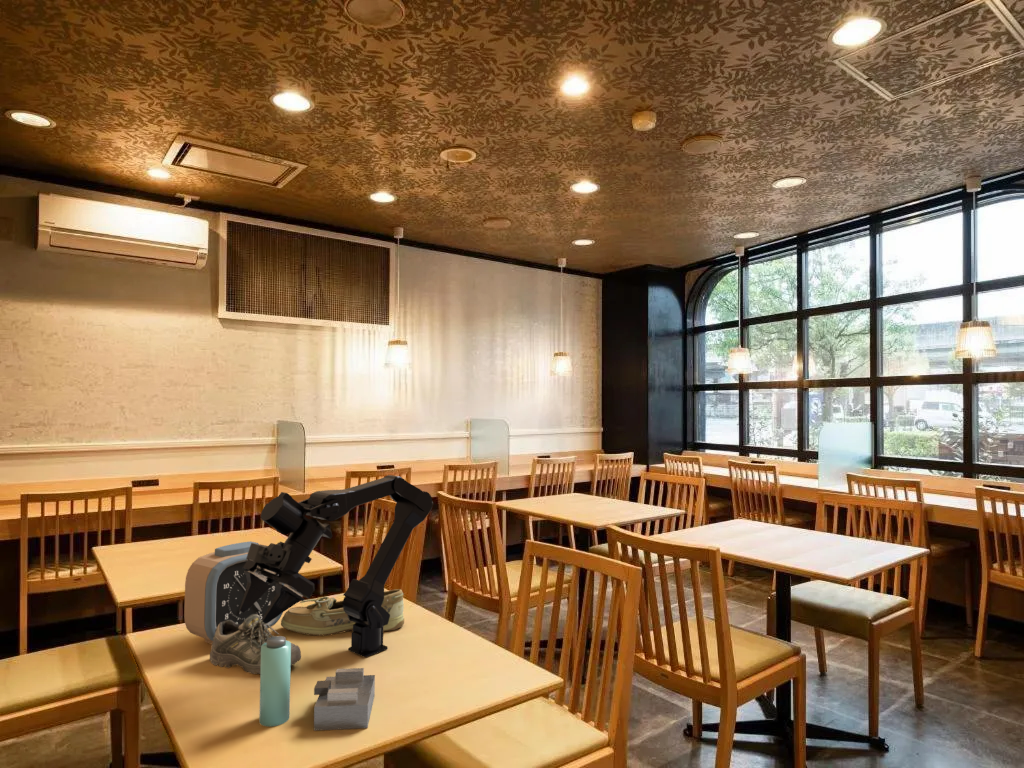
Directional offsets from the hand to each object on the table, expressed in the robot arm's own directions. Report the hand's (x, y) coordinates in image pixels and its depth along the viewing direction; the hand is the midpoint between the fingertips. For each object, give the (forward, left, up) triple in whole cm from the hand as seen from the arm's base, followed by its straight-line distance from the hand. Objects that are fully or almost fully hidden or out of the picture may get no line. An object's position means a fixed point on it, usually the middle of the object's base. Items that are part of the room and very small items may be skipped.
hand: (252, 617), depth 124 cm
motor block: (-6, +21, -14) cm, 26 cm away
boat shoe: (-33, -15, -15) cm, 39 cm away
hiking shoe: (-7, -11, -15) cm, 19 cm away
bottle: (+3, +14, -14) cm, 20 cm away
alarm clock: (-12, -29, -14) cm, 34 cm away
